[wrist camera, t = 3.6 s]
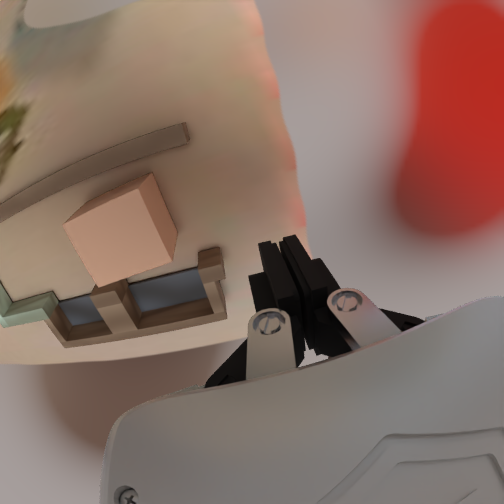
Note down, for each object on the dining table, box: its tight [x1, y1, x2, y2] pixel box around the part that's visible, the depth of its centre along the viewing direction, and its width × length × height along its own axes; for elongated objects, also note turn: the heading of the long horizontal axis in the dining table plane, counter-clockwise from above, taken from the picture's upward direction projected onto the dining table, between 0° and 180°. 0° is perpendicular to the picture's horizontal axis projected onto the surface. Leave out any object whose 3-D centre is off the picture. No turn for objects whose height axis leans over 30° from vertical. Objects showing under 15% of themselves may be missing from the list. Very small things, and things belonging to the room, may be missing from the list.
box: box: [0, 123, 227, 348], centre depth 22 cm, size 18×30×3 cm, turn 102°
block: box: [62, 172, 178, 288], centre depth 20 cm, size 6×7×5 cm
